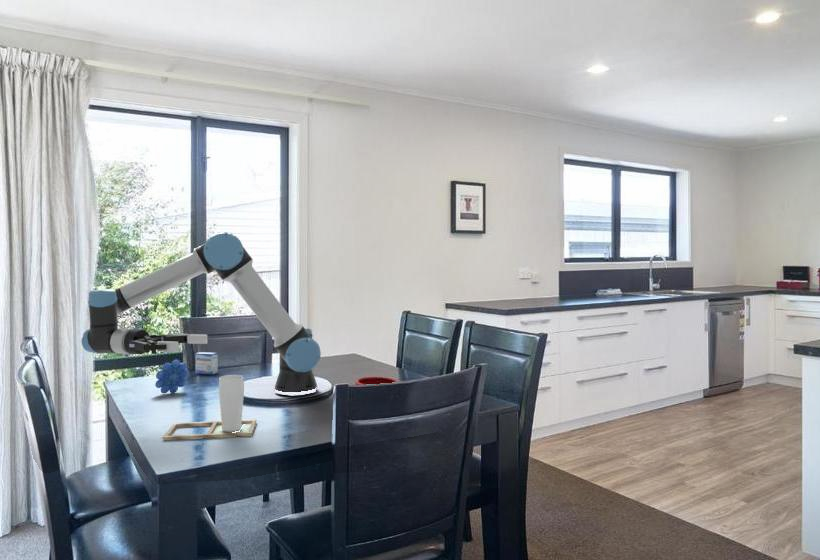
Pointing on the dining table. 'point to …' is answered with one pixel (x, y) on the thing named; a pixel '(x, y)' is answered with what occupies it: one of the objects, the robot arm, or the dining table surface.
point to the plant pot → (374, 380)
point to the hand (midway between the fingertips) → (192, 342)
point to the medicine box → (206, 363)
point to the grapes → (172, 376)
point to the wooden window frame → (211, 430)
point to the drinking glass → (231, 401)
